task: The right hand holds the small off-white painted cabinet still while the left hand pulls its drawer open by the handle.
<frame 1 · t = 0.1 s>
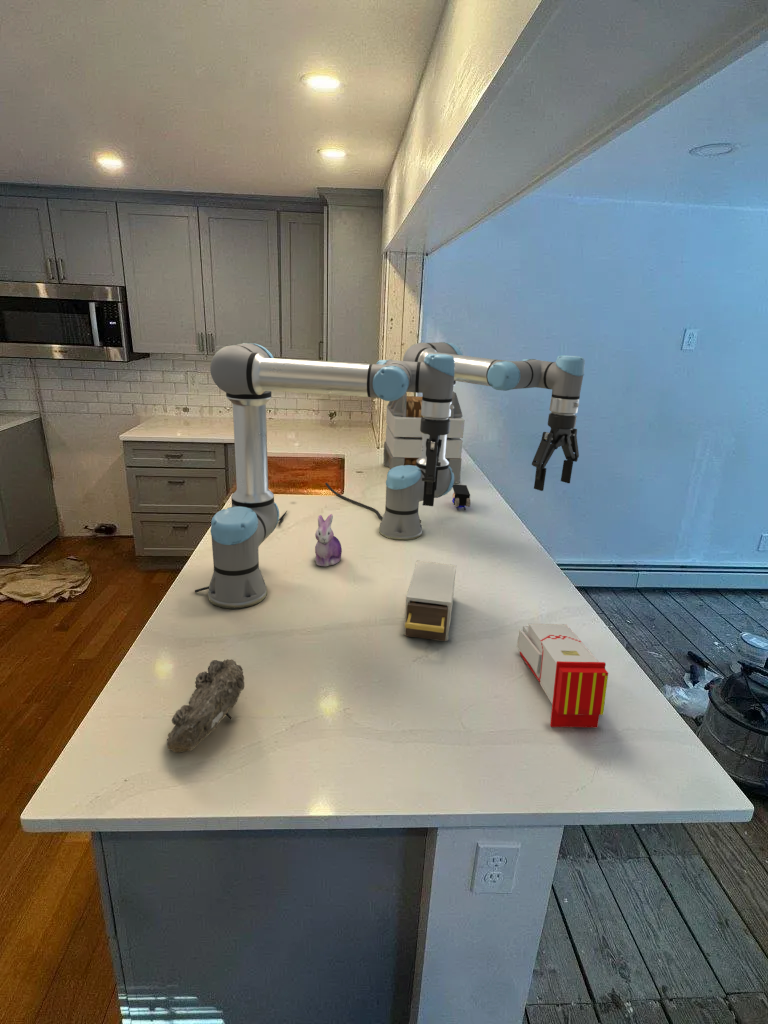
left hand: (429, 497, 151), 28 cm above the counter, tool pointing down, fingers open, 13 cm apart
right hand: (552, 485, 166), 28 cm above the counter, tool pointing down, fingers open, 13 cm apart
figurine: (327, 561, 176), on the counter
toy: (551, 684, 122), on the counter
cabinet: (429, 616, 147), on the counter
feather: (285, 514, 213), on the counter
drawer: (429, 608, 140), point 5 cm above the counter, slide at 0.7 cm
figurine character: (459, 506, 231), on the counter
transformer: (419, 473, 275), on the counter
fossil: (212, 717, 108), on the counter
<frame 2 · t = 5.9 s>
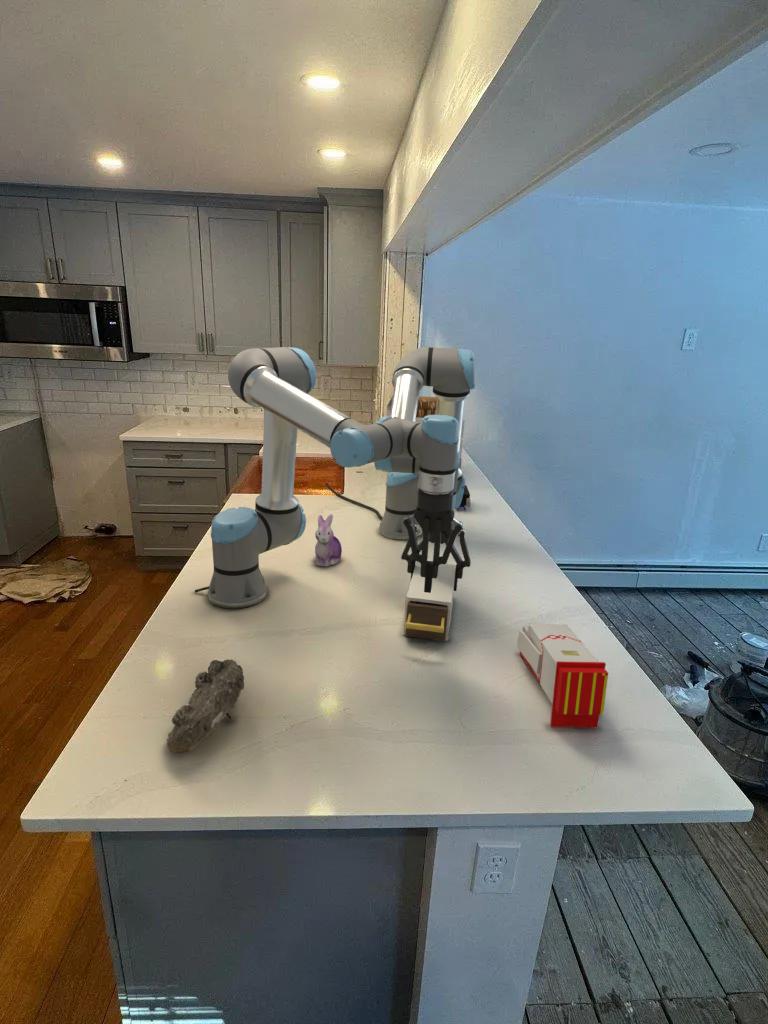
left hand: (427, 589, 127), 16 cm above the counter, tool pointing down, fingers closed
right hand: (433, 586, 151), 6 cm above the counter, tool pointing down, fingers closed on cabinet, 11 cm apart
cabinet: (429, 616, 147), on the counter, touching right hand
everything else where it was.
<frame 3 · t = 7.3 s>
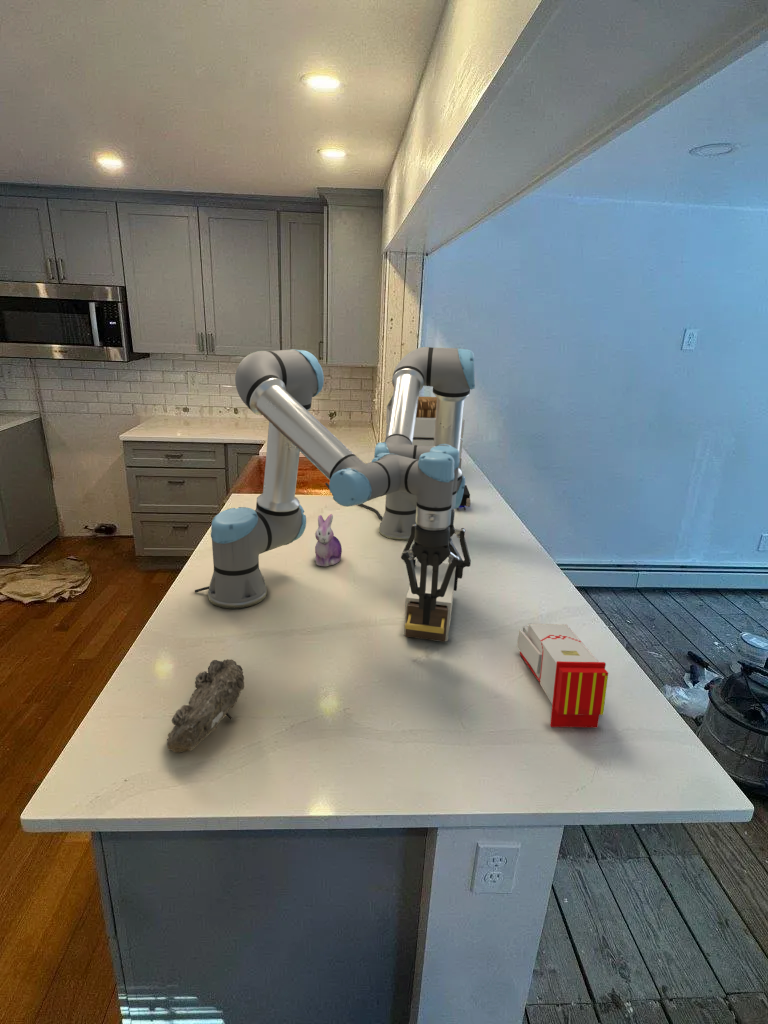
left hand: (426, 621, 130), 8 cm above the counter, tool pointing down, fingers closed
right hand: (433, 586, 151), 6 cm above the counter, tool pointing down, fingers closed on cabinet, 11 cm apart
cabinet: (429, 615, 147), on the counter, touching right hand
drawer: (429, 608, 140), point 5 cm above the counter, slide at 0.8 cm, touching left hand
everything else where it was.
when the right hand's fingers open (6 cm above the counter, at t = 10.5 s): cabinet stays where it is, on the counter.
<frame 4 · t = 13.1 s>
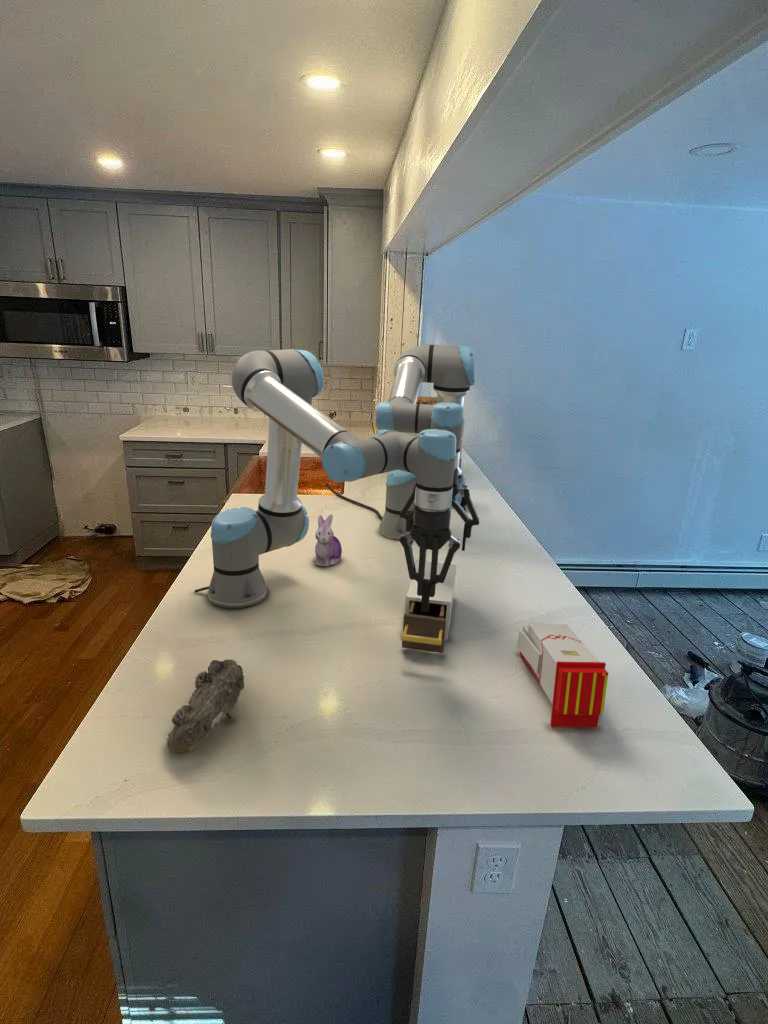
left hand: (424, 608, 123), 14 cm above the counter, tool pointing down, fingers closed
right hand: (437, 546, 147), 17 cm above the counter, tool pointing down, fingers open, 13 cm apart
cabinet: (429, 615, 147), on the counter
drawer: (426, 618, 136), point 5 cm above the counter, slide at 6.0 cm
everything else where it was.
at the end: drawer slide at 6.0 cm; cabinet tilted 0°; cabinet never tilted more than 5° during the clip; cabinet moved 0.1 cm from its start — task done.
